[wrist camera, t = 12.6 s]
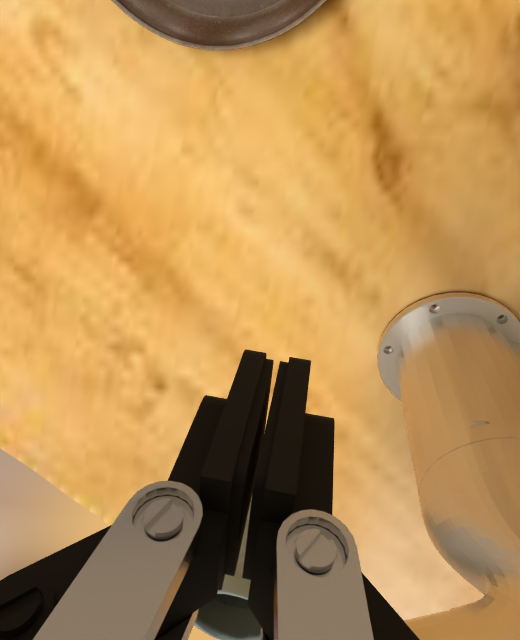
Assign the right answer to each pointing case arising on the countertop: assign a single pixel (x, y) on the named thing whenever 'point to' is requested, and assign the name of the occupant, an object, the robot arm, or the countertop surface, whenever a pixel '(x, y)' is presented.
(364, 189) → the countertop surface
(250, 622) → the grey green tapered pot
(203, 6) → the plant saucer
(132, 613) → the robot arm
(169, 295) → the countertop surface
